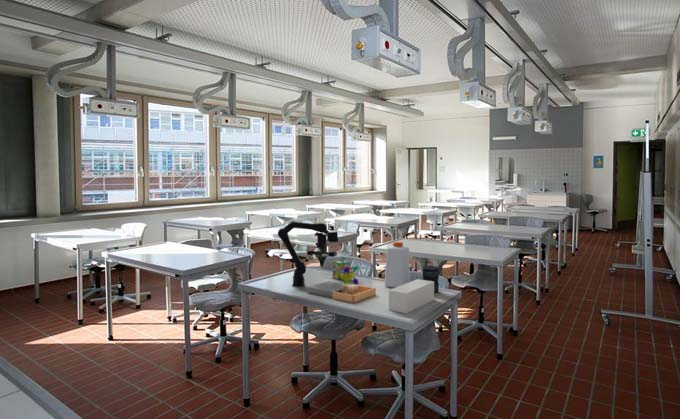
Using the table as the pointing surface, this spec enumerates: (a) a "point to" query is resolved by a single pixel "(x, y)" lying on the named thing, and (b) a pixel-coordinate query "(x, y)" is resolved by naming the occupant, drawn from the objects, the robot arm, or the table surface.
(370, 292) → the box
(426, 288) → the long white block
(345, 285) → the beech block
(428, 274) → the storage jar
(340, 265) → the chalk box
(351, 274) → the molecular model
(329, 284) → the slate plate
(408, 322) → the table surface
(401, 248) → the plastic bottle
